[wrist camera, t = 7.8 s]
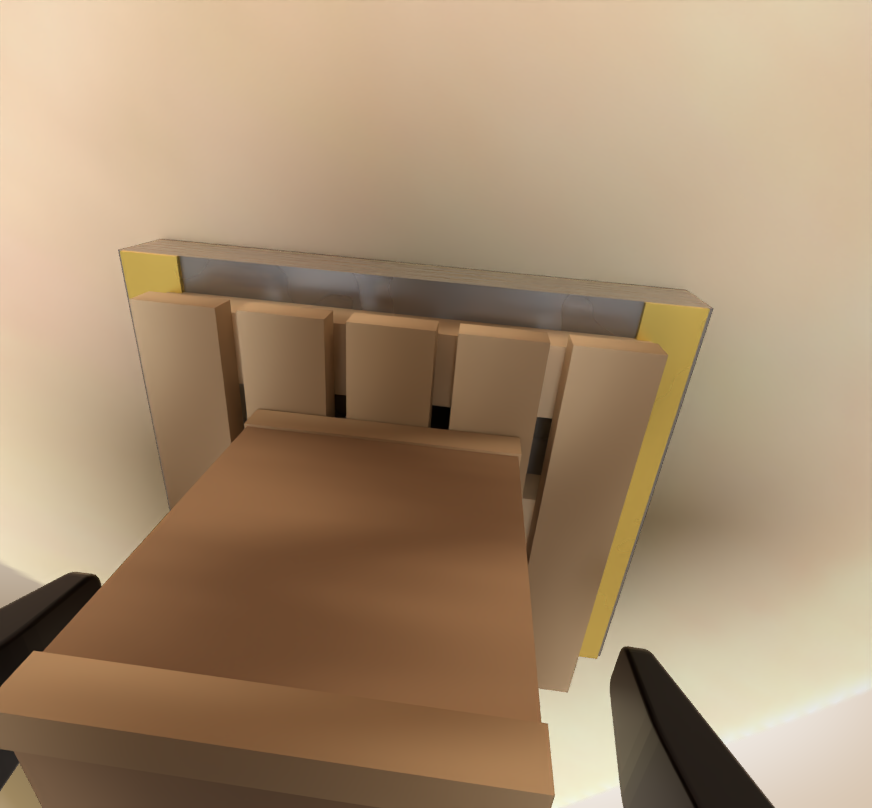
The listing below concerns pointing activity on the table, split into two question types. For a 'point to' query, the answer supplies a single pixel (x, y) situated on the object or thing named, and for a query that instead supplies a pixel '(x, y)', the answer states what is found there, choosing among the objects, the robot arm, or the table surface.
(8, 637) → the robot arm
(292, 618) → the crate
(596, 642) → the dock
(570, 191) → the table surface
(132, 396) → the table surface
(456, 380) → the pallet
